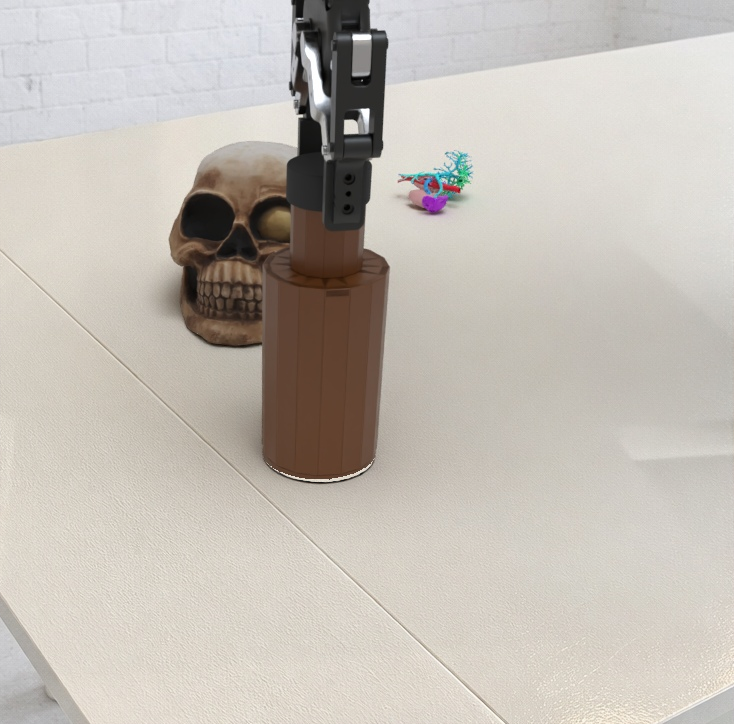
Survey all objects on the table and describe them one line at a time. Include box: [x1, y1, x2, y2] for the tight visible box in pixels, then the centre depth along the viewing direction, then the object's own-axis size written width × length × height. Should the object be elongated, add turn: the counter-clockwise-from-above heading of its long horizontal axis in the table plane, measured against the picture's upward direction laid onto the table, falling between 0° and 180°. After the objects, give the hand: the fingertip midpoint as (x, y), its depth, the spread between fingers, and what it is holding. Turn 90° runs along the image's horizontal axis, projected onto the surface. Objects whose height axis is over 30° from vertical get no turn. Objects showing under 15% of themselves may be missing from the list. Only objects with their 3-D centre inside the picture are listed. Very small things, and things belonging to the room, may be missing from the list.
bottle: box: [261, 204, 391, 480], centre depth 69 cm, size 7×7×17 cm
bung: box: [286, 152, 373, 212], centre depth 64 cm, size 5×5×4 cm
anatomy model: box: [397, 149, 474, 214], centre depth 114 cm, size 5×8×7 cm
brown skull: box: [168, 140, 298, 347], centre depth 93 cm, size 16×17×13 cm
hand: (328, 203), depth 65 cm, fingers open, 8 cm apart
